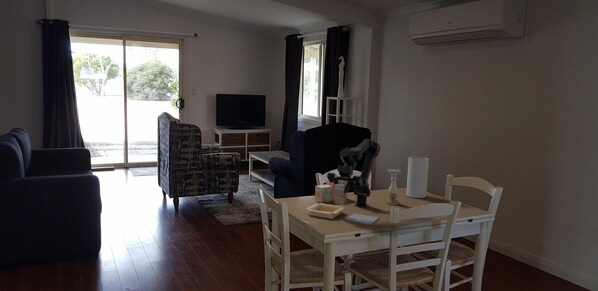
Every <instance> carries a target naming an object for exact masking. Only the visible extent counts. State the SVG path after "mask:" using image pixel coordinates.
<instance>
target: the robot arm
mask: <svg viewBox="0 0 598 291" xmlns="http://www.w3.org/2000/svg"><path fill="white" fill-rule="evenodd" d="M380 151H381V145H380V144H379V143H377V142H376V141H374V140H373V139H370V138H364V139H363V140H362V142H360V143H359V144H358V145H357V146H356V147H351V148H350V147H347V146H346V147H345V148H343V149H342V150H340V151H339V157H340V158H341V160H342V162H343V163H344V165H337V166H338V167H337V172H338V175H337V174H336V173H335V172H328V173H327V174H326V178H327V180H329V182H332V183H334V189H335V184H338V183H339V182H338V181H339V180H341V181H347V185H346V188H345V190H344V193H346V192H347V193H348V192H349V191H350V190H352V191H353V195H354V196H356V203H355V204H354V207H361V208H366V207H368V206H369V204H368V202H367V199H368V197H371V193H372V192H371V190H370V184H369V177H370V174H371V171H372V168H373V165H374V164H373V163H374V160H375V158H377V157H378V156H379V154H380ZM364 152H365V159H364V162H363V165H362V168H361V172H360V176H359V175H354V170H355V168H357V161H360V160H361V159H362V157H363V154H364Z"/></svg>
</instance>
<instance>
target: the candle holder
mask: <svg viewBox="0 0 598 291" xmlns="http://www.w3.org/2000/svg"><path fill="white" fill-rule="evenodd" d="M387 172H388V173H390V175H391V176H390V179H391V182H390V183H391V184H390V186H389V188H388V197H389V198H387V199H386V200H385V201H384V204H387V205H391V206H398V205H401V202H400V201H399V199H398V198H397V196H398V192H399V190H398V187H397V180H398V178H397V176H398V174H399V173H401V172H402V171H401V169H398V168H397V169H396V168H390V169H388V170H387Z"/></svg>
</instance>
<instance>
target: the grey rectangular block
mask: <svg viewBox="0 0 598 291" xmlns="http://www.w3.org/2000/svg"><path fill="white" fill-rule="evenodd" d="M346 185H347V184H341V183H338V184H335V191H334V201H333V205H339V206H341V205H342V206H343V205H345V204H347V201H348V200H347V198H348V191H347V192H346V193H344V190H345V188H346Z"/></svg>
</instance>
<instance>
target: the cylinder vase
mask: <svg viewBox="0 0 598 291" xmlns="http://www.w3.org/2000/svg"><path fill="white" fill-rule="evenodd" d="M429 161H430V158H428V157H423V156H409V157H408V164H407V179H406V180H407V181H406V182H407V183H406V196H407V197H409V198H413V199H425V198H426V197H427V194H428V193H427V192H428V190H427V189H428V176H429V175H428V174H429Z"/></svg>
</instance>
